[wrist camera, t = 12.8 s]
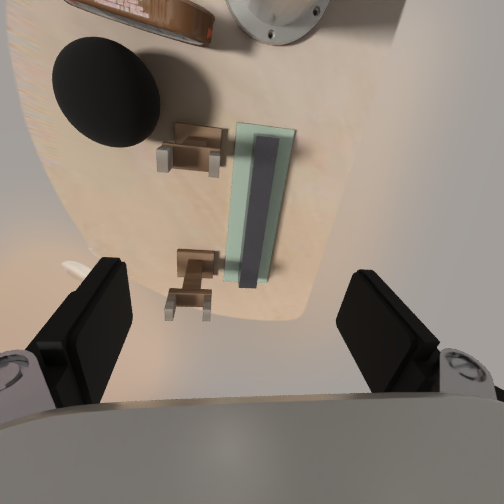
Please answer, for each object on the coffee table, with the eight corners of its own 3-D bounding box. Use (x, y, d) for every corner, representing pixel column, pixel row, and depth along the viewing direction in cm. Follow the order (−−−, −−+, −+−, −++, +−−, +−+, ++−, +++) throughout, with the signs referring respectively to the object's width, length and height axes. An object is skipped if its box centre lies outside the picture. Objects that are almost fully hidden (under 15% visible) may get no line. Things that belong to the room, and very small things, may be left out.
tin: (215, 24, 30) (214, -2, 22) (211, 57, 31) (208, 43, 24) (70, -25, 26) (13, -75, 19) (72, 14, 28) (21, -18, 21)
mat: (236, 122, 35) (237, 122, 34) (294, 129, 36) (294, 130, 36) (223, 280, 47) (223, 281, 47) (266, 281, 48) (266, 283, 48)
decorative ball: (75, 38, 29) (13, 9, 20) (167, 58, 31) (147, 39, 22) (87, 134, 34) (41, 145, 25) (167, 147, 35) (149, 160, 27)
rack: (175, 122, 34) (154, 131, 23) (221, 128, 35) (222, 139, 24) (178, 273, 45) (164, 329, 34) (212, 275, 46) (210, 329, 35)
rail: (253, 133, 35) (256, 135, 33) (275, 135, 36) (279, 138, 33) (237, 277, 47) (238, 287, 44) (254, 278, 47) (256, 288, 45)
